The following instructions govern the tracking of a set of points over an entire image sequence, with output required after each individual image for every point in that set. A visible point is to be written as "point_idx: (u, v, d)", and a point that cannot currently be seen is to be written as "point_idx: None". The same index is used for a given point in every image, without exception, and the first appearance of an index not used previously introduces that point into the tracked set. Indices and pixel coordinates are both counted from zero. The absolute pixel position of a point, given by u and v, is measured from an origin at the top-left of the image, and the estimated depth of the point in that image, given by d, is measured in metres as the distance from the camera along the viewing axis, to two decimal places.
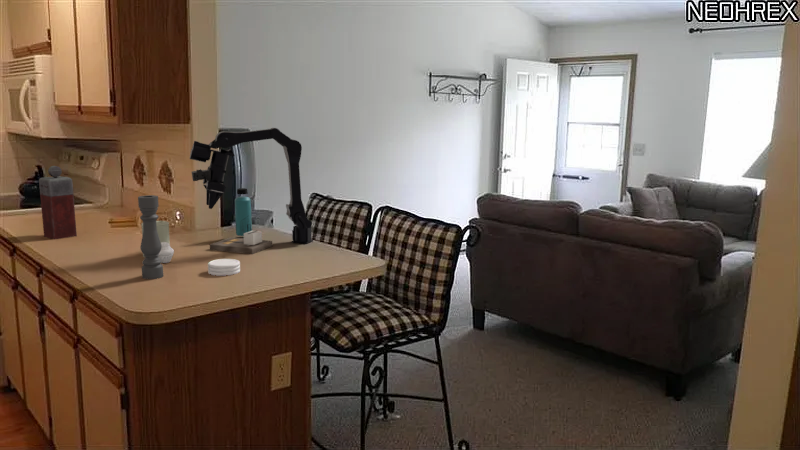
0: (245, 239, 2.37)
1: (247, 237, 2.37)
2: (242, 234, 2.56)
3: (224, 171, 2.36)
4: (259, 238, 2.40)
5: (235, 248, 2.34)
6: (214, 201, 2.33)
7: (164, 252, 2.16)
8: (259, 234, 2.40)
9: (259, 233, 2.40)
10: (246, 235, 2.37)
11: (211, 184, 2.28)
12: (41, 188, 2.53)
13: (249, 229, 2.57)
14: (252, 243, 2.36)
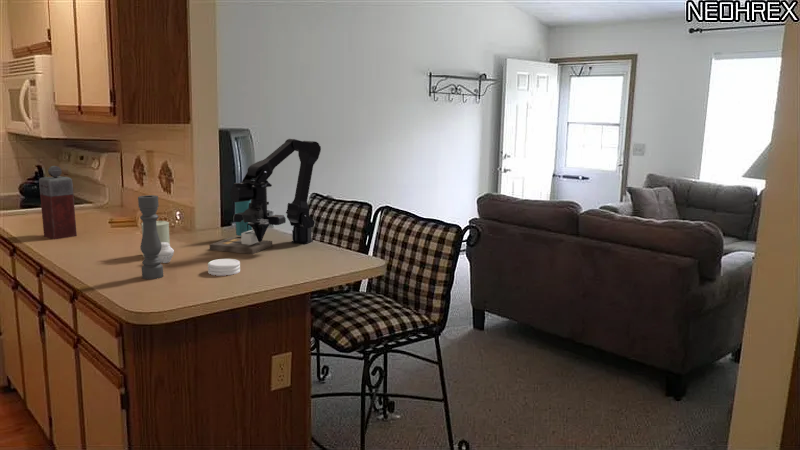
0: (243, 239, 2.37)
1: (245, 237, 2.37)
2: None
3: (268, 203, 2.38)
4: None
5: (235, 248, 2.34)
6: (263, 233, 2.38)
7: (164, 252, 2.16)
8: None
9: None
10: (244, 235, 2.37)
11: (279, 219, 2.32)
12: (41, 188, 2.53)
13: (249, 229, 2.57)
14: (250, 243, 2.37)
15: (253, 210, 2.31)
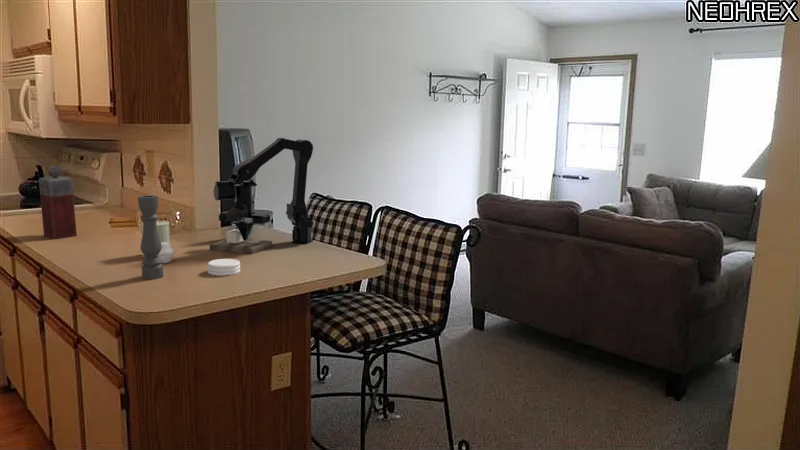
0: (228, 237, 2.39)
1: (230, 235, 2.39)
2: None
3: (252, 202, 2.40)
4: None
5: (235, 248, 2.34)
6: (248, 231, 2.40)
7: (164, 252, 2.16)
8: None
9: None
10: (229, 233, 2.39)
11: (263, 218, 2.34)
12: (41, 188, 2.53)
13: None
14: (235, 241, 2.39)
15: (238, 209, 2.33)
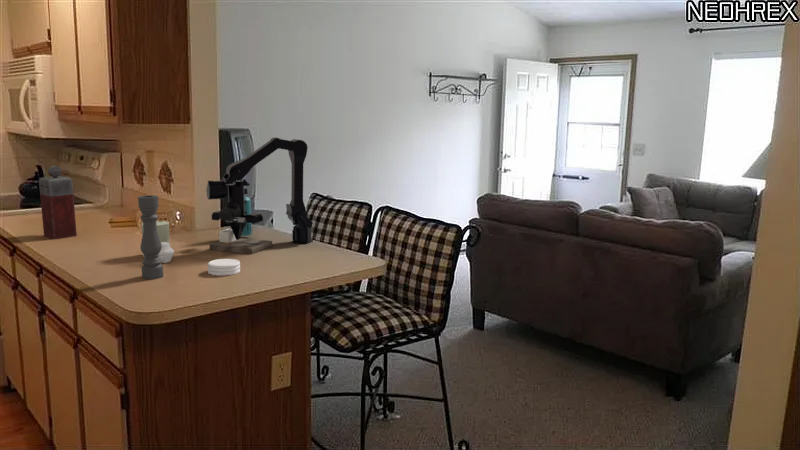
0: (221, 237, 2.40)
1: (223, 235, 2.40)
2: (242, 234, 2.56)
3: (245, 201, 2.41)
4: None
5: (235, 248, 2.34)
6: (241, 231, 2.41)
7: (164, 252, 2.16)
8: None
9: None
10: (222, 233, 2.40)
11: (256, 217, 2.35)
12: (41, 188, 2.53)
13: (249, 229, 2.57)
14: (227, 241, 2.40)
15: (230, 208, 2.34)
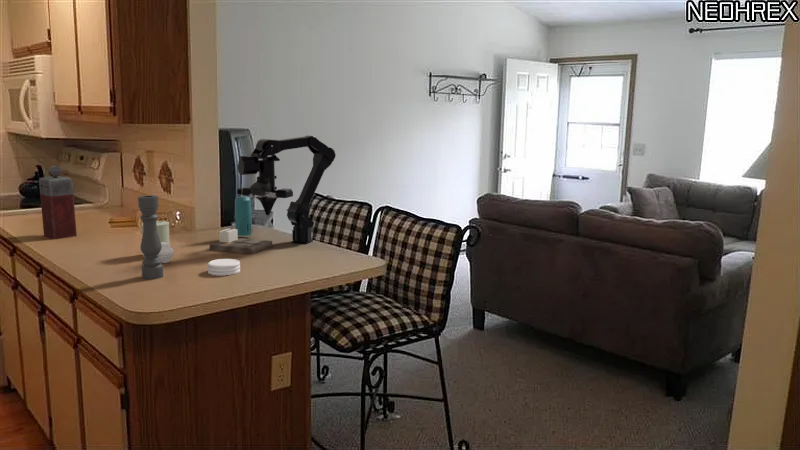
0: (221, 237, 2.40)
1: (222, 235, 2.40)
2: (242, 234, 2.56)
3: (275, 177, 2.41)
4: (235, 236, 2.43)
5: (235, 248, 2.34)
6: (271, 206, 2.42)
7: (164, 252, 2.16)
8: (235, 232, 2.43)
9: (235, 231, 2.43)
10: (221, 233, 2.40)
11: (286, 192, 2.36)
12: (41, 188, 2.53)
13: (249, 229, 2.57)
14: (227, 241, 2.40)
15: (261, 183, 2.35)
